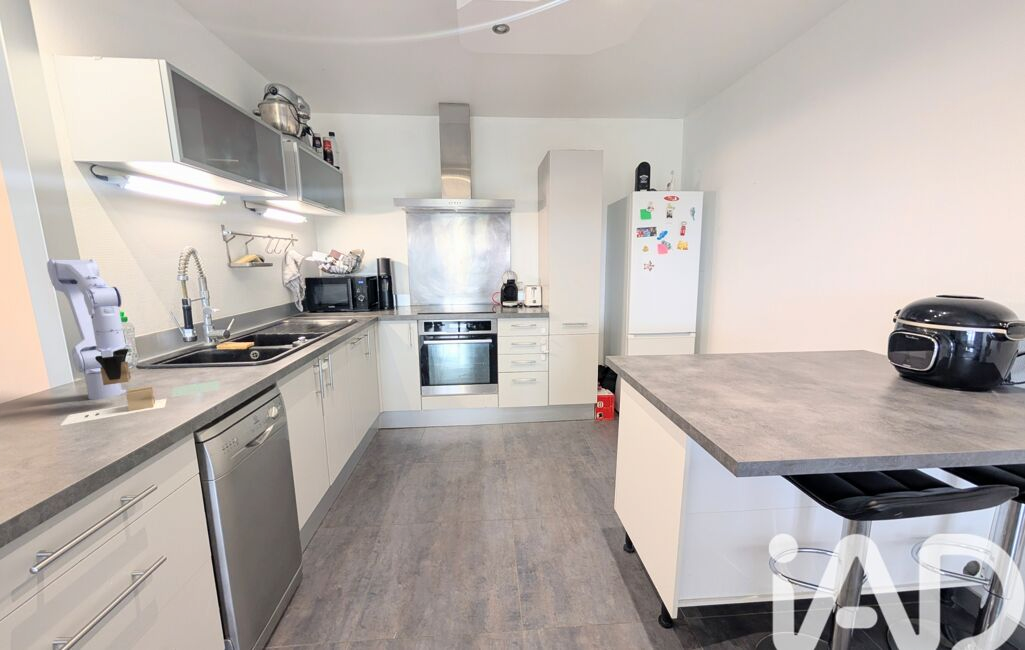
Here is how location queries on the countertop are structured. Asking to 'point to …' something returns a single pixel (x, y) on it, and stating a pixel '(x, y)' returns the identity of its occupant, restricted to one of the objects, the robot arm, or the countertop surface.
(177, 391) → the sage pad
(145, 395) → the oak block
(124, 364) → the walnut block
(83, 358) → the robot arm
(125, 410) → the board
